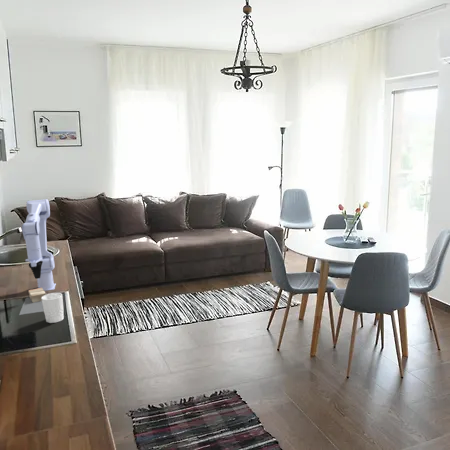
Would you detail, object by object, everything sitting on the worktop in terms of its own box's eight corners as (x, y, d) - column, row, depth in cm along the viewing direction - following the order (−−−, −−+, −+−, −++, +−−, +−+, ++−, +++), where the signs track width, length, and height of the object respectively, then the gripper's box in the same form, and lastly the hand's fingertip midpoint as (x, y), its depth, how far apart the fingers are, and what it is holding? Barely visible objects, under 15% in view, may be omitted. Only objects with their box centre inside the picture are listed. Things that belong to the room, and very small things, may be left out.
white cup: (40, 322, 184) (36, 298, 182) (53, 315, 191) (50, 292, 189) (56, 324, 181) (53, 300, 179) (69, 316, 189) (66, 293, 187)
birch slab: (32, 302, 207) (29, 296, 215) (46, 299, 210) (42, 293, 218) (31, 296, 206) (28, 290, 215) (45, 293, 209) (42, 287, 218)
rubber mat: (26, 298, 214) (25, 297, 214) (57, 294, 217) (57, 293, 217) (19, 315, 193) (18, 314, 193) (54, 310, 197) (54, 309, 196)
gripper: (26, 246, 212) (30, 274, 215) (21, 253, 198) (26, 284, 201) (42, 244, 214) (46, 272, 216) (39, 251, 200) (43, 281, 203)
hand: (37, 278), depth 209 cm, fingers closed
